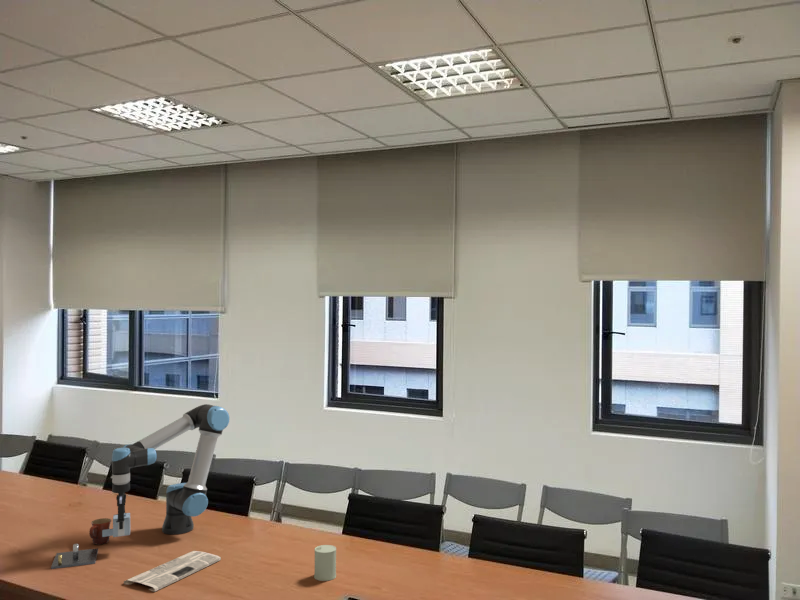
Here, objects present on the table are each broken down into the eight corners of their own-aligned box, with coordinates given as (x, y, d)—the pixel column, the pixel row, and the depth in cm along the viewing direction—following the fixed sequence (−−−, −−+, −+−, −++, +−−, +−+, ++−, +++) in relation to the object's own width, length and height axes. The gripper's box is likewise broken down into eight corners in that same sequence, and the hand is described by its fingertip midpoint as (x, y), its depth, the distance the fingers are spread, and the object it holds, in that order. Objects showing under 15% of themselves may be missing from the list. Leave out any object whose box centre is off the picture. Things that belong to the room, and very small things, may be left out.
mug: (98, 538, 305) (99, 517, 305) (114, 540, 303) (115, 518, 303) (81, 547, 293) (82, 525, 293) (98, 549, 291) (98, 526, 291)
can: (314, 572, 265) (314, 543, 265) (336, 571, 266) (336, 543, 266) (313, 581, 256) (313, 551, 256) (336, 580, 257) (336, 551, 257)
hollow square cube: (130, 529, 290) (130, 512, 290) (129, 534, 284) (129, 517, 284) (103, 533, 286) (102, 516, 286) (102, 538, 279) (101, 520, 280)
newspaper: (155, 594, 244) (155, 586, 245) (120, 584, 253) (120, 577, 253) (220, 562, 277) (220, 555, 278) (188, 554, 286) (188, 548, 286)
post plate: (98, 550, 289) (98, 536, 289) (95, 563, 273) (95, 548, 274) (56, 555, 283) (57, 540, 283) (51, 569, 267) (51, 553, 267)
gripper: (113, 478, 294) (113, 527, 293) (110, 489, 275) (111, 541, 275) (130, 476, 297) (131, 524, 296) (129, 487, 278) (129, 539, 278)
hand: (121, 532), depth 286 cm, fingers closed on hollow square cube, 7 cm apart
